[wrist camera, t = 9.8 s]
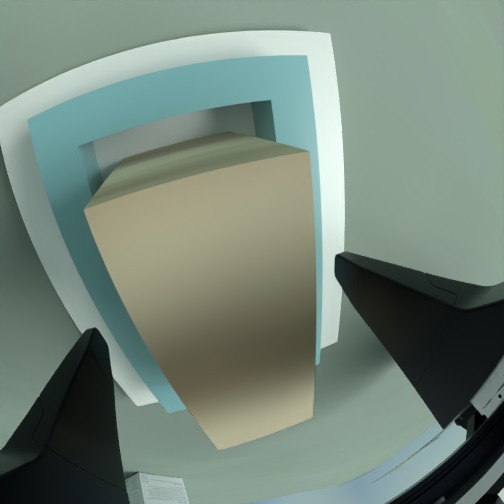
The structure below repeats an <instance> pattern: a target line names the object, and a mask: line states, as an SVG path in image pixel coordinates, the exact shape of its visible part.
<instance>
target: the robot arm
mask: <svg viewBox="0 0 504 504" xmlns="http://www.w3.org/2000/svg"><path fill="white" fill-rule="evenodd" d="M334 274H335V278H336V279H337V281H338V283H339V284H340V286H341V287H342V289H343V291H344V292H345V294H346V295H347V297H348V299H349V300H350V302H351V303H352V305H353V306H354V308H355V309H356V311H357V312H358V313H359V314H360V316H361V317H362V318H363V320H364V321H365V322H366V323H367V325H368V326H369V327H370V329H371V330H372V331H373V332H374V334H375V335H376V336H377V338H378V339H379V340H380V342H381V343H382V344H383V346H384V347H385V348H386V350H387V351H388V352H389V354H390V355H391V356H392V358H393V359H394V360H395V362H396V363H397V364H398V366H399V367H400V369H401V370H402V371H403V373H404V374H405V375H406V377H407V378H408V380H409V381H410V382H411V384H412V385H413V387H414V388H415V390H416V391H417V392H418V394H419V395H420V397H421V398H422V399H423V401H424V402H425V404H426V405H427V407H428V408H429V410H430V411H431V412H432V414H433V415H434V417H435V418H436V420H437V421H438V423H439V424H440V426H441V427H442V428H443V429H445V428H446V427H448V426H449V425H450V424H451V423H452V422H453V421H455V423H456V425H458V426H462V427H463V428H464V429H466V430H467V435H466V441H465V442H464V443H463V444H462V445H461V446H460V447H459V448H458V449H456V450H455V451H454V452H453V453H452V454H451V455H450V456H449V457H448V458H446V459H445V460H444V461H443V462H442V463H441V464H439V465H438V466H437V467H436V468H434V469H433V470H432V471H431V472H429V473H428V474H427V475H426V476H424V477H423V478H422V479H420V480H419V481H418V482H416V483H415V484H414V485H412V486H411V487H409V488H408V489H406V490H405V491H404V492H402V493H401V494H399V495H398V496H396V497H395V498H393V499H392V500H390V501H388V502H387V503H385V504H504V503H503V501H502V500H501V498H500V497H499V496H498V495H497V494H498V493H499V492H500V491H501V490H502V489H503V488H504V282H502V283H500V284H497V285H494V286H479V285H475V284H470V283H465V282H461V281H456V280H452V279H447V278H443V277H439V276H435V275H432V274H428V273H424V272H421V271H417V270H413V269H410V268H406V267H402V266H399V265H395V264H391V263H388V262H384V261H380V260H376V259H373V258H369V257H365V256H361V255H357V254H353V253H350V252H341V253H338V254H336V255H335V261H334ZM0 504H130V501H129V497H128V492H127V488H126V483H125V478H124V472H123V467H122V461H121V454H120V447H119V439H118V431H117V421H116V410H115V396H114V383H113V376H112V369H111V362H110V354H109V347H108V344H107V342H106V341H105V339H104V338H103V336H102V334H101V333H100V331H99V330H98V329H97V328H96V327H93V328H89V329H86V330H85V331H84V333H83V334H82V335H81V337H80V338H79V339H78V341H77V342H76V343H75V345H74V346H73V348H72V349H71V350H70V352H69V353H68V354H67V356H66V357H65V359H64V360H63V361H62V363H61V364H60V366H59V367H58V368H57V370H56V371H55V373H54V374H53V376H52V377H51V379H50V380H49V382H48V383H47V385H46V386H45V388H44V389H43V391H42V392H41V394H40V397H38V398H37V400H36V401H35V403H34V404H33V406H32V407H31V409H30V411H29V412H28V414H27V415H26V416H25V418H24V419H23V421H22V422H21V423H20V425H19V426H18V428H17V429H16V430H15V432H14V433H13V435H12V436H11V438H10V439H9V441H8V442H7V443H6V445H5V446H4V447H3V448H2V449H1V450H0Z"/></svg>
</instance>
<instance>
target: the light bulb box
mask: <svg viewBox="0 0 504 504" xmlns="http://www.w3.org/2000/svg"><path fill="white" fill-rule="evenodd" d="M125 483H126V488H127V492H128V497H129V501H130V504H189V501H188V498H187V494H186V491H185V487H184V483H183V480H182V478H176V477H167V476H160V475H153V474H147V473H141V472H138V473H137V474H135V475H133V476H131V477H129V478H127V479H125Z"/></svg>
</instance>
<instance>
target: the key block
mask: <svg viewBox="0 0 504 504" xmlns="http://www.w3.org/2000/svg"><path fill="white" fill-rule="evenodd" d="M84 212H85V215H86V218H87V221H88V223H89V226H90V229H91V231H92V234H93V236H94V239H95V242H96V244H97V246H98V249H99V251H100V254H101V256H102V258H103V261H104V263H105V265H106V268H107V270H108V272H109V274H110V276H111V279H112V281H113V283H114V285H115V287H116V289H117V291H118V293H119V295H120V297H121V299H122V301H123V303H124V305H125V307H126V309H127V311H128V313H129V315H130V317H131V319H132V321H133V323H134V325H135V326H136V328H137V330H138V332H139V334H140V335H141V337H142V339H143V341H144V342H145V344H146V346H147V348H148V349H149V351H150V353H151V354H152V356H153V358H154V359H155V361H156V363H157V364H158V366H159V368H160V369H161V371H162V372H163V374H164V375H165V377H166V379H167V380H168V382H169V383H170V385H171V386H172V388H173V389H174V391H175V392H176V394H177V395H178V397H179V398H180V399H181V401H182V402H183V404H184V405H185V407H186V408H187V409H188V411H189V412H190V414H191V415H192V416H193V418H194V419H195V420H196V422H197V423H198V424H199V426H200V427H201V428H202V430H203V431H204V432H205V433H206V435H207V436H208V437H209V439H210V440H211V441H212V442H213V444H214V445H215V446H216V447H217V448H218V450H222V449H226V448H229V447H233V446H236V445H240V444H243V443H246V442H249V441H252V440H255V439H258V438H261V437H264V436H267V435H270V434H272V433H275V432H278V431H280V430H283V429H286V428H288V427H291V426H293V425H296V424H298V423H300V422H303V421H305V420H308V419H310V418H312V417H313V403H314V385H315V363H316V317H317V291H316V244H315V221H314V202H313V187H312V173H311V161H310V151H307V150H304V149H300V148H297V147H293V146H289V145H286V144H282V143H278V142H274V141H270V140H266V139H262V138H257V137H253V136H249V135H244V134H240V133H235V132H230V131H228V132H223V133H218V134H213V135H208V136H204V137H199V138H195V139H191V140H187V141H183V142H179V143H175V144H171V145H167V146H163V147H160V148H156V149H153V150H149V151H146V152H142V153H139V154H136V155H133V156H129V157H126V158H123V160H122V161H121V162H120V163H119V164H118V165H117V167H116V168H115V169H114V170H113V172H112V173H111V174H110V175H109V177H108V178H107V179H106V180H105V182H104V183H103V184H102V186H101V187H100V188H99V189H98V191H97V192H96V193H95V195H94V196H93V197H92V199H91V200H90V202H89V203H88V204H87V206H86V207H85V209H84Z"/></svg>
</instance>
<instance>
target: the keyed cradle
mask: <svg viewBox="0 0 504 504" xmlns="http://www.w3.org/2000/svg"><path fill="white" fill-rule="evenodd" d="M228 131H230V132H235V133H240V134H244V135H249V136H253V137H257V138H262V139H266V140H270V141H274V142H278V143H282V144H286V145H289V146H293V147H297V148H300V149H304V150H307V151H310V161H311V173H312V187H313V202H314V221H315V244H316V291H317V317H316V363H315V365H318V364H320V349H322V348H324V347H327V346H329V345H331V344H333V343H336V342H337V340H338V331H339V321H340V309H341V296H342V287H341V286H340V284H339V283H338V281H337V279H336V278H335V274H334V261H335V255H336V254H338V253H341V252H344V222H345V200H344V162H343V142H342V127H341V115H340V104H339V94H338V85H337V77H336V69H335V62H334V55H333V49H332V42H331V36H330V33H321V32H307V31H282V30H264V31H239V32H226V33H216V34H207V35H199V36H192V37H186V38H180V39H175V40H169V41H164V42H160V43H155V44H151V45H146V46H142V47H139V48H135V49H131V50H127V51H124V52H121V53H117V54H114V55H111V56H108V57H105V58H102V59H99V60H96V61H93V62H90V63H88V64H85V65H82V66H80V67H77V68H75V69H72V70H70V71H68V72H65V73H63V74H61V75H58V76H56V77H54V78H52V79H50V80H48V81H45V82H43V83H41V84H39V85H37V86H35V87H34V88H32V89H30V90H28V91H26V92H24V93H22V94H21V95H19V96H17V97H15V98H14V99H12V100H10V101H8V102H7V103H5V104H4V105H2V106H0V145H1V149H2V154H3V158H4V162H5V166H6V169H7V173H8V176H9V180H10V183H11V186H12V190H13V193H14V196H15V199H16V202H17V205H18V208H19V210H20V213H21V216H22V218H23V221H24V224H25V226H26V229H27V231H28V234H29V236H30V238H31V241H32V243H33V245H34V248H35V250H36V252H37V254H38V256H39V259H40V261H41V263H42V265H43V267H44V269H45V271H46V273H47V275H48V277H49V279H50V281H51V283H52V284H53V286H54V288H55V290H56V292H57V294H58V296H59V297H60V299H61V301H62V303H63V304H64V306H65V308H66V309H67V311H68V313H69V314H70V316H71V318H72V319H73V321H74V323H75V324H76V326H77V327H78V329H79V330H80V332H81V333H82V334H83V333H84V331H85V330H86V329H89V328H93V327H96V328H97V329H98V330H99V331H100V333H101V334H102V336H103V338H104V339H105V341H106V342H107V344H108V347H109V354H110V362H111V369H112V376H113V378H114V379H115V380H116V381H117V383H118V384H119V385H120V386H121V388H122V389H123V390H124V391H125V392H126V394H127V395H128V396H129V397H130V398H131V399H132V401H133V402H134V403H135V404H136V405H137V406H142V405H146V404H151V403H156V402H159V403H160V404H161V405H162V406H163V408H164V409H165V410H166V411H167V413H173V412H177V411H181V410H185V409H187V408H186V407H185V405H184V404H183V402H182V401H181V399H180V398H179V397H178V395H177V394H176V392H175V391H174V389H173V388H172V386H171V385H170V383H169V382H168V380H167V379H166V377H165V375H164V374H163V372H162V371H161V369H160V368H159V366H158V364H157V363H156V361H155V359H154V358H153V356H152V354H151V353H150V351H149V349H148V348H147V346H146V344H145V342H144V341H143V339H142V337H141V335H140V334H139V332H138V330H137V328H136V326H135V325H134V323H133V321H132V319H131V317H130V315H129V313H128V311H127V309H126V307H125V305H124V303H123V301H122V299H121V297H120V295H119V293H118V291H117V289H116V287H115V285H114V283H113V281H112V279H111V276H110V274H109V272H108V270H107V268H106V265H105V263H104V261H103V258H102V256H101V254H100V251H99V249H98V246H97V244H96V242H95V239H94V236H93V234H92V231H91V229H90V226H89V223H88V221H87V218H86V215H85V212H84V209H85V207H86V206H87V204H88V203H89V202H90V200H91V199H92V197H93V196H94V195H95V193H96V192H97V191H98V189H99V188H100V187H101V186H102V184H103V183H104V182H105V180H106V179H107V178H108V177H109V175H110V174H111V173H112V172H113V170H114V169H115V168H116V167H117V165H118V164H119V163H120V162H121V161H122V160H123V158H126V157H129V156H133V155H136V154H139V153H142V152H146V151H149V150H153V149H156V148H160V147H163V146H167V145H171V144H175V143H179V142H183V141H187V140H191V139H195V138H199V137H204V136H208V135H213V134H218V133H223V132H228Z"/></svg>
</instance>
